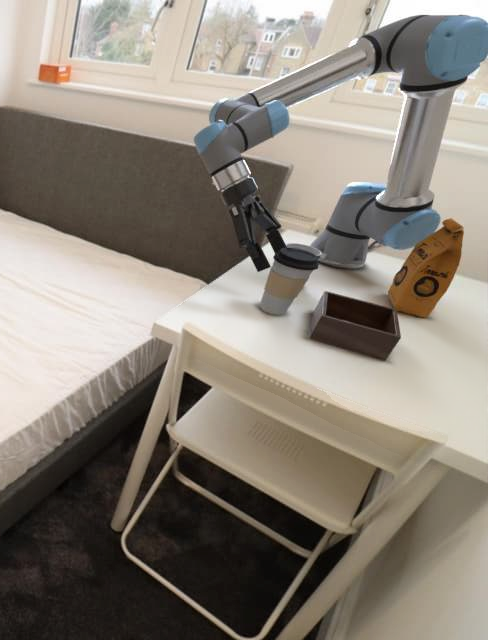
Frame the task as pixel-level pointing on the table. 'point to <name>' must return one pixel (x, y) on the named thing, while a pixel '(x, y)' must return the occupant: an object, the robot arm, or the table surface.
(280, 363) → the table surface
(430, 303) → the coffee package
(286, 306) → the coffee cup
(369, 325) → the crate
